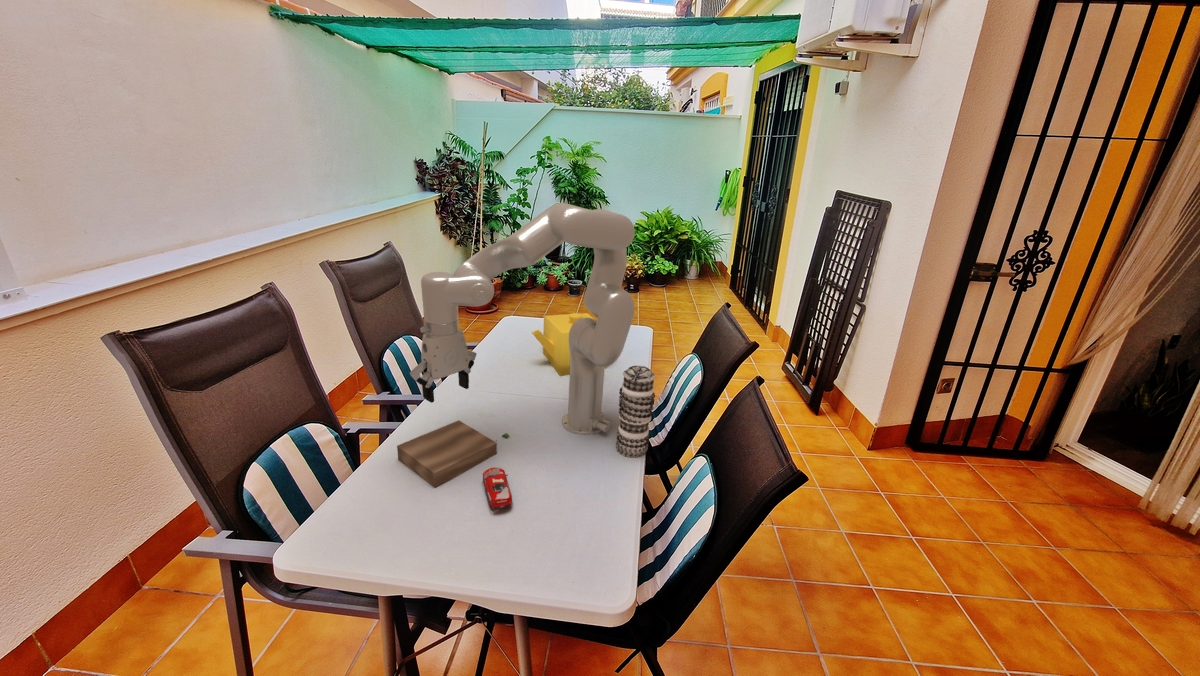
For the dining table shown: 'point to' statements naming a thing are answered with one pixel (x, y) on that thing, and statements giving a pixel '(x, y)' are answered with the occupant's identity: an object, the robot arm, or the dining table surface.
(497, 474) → the race car
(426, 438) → the block
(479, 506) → the dining table surface
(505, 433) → the puzzle cube
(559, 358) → the square teapot
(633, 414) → the decorative candle
